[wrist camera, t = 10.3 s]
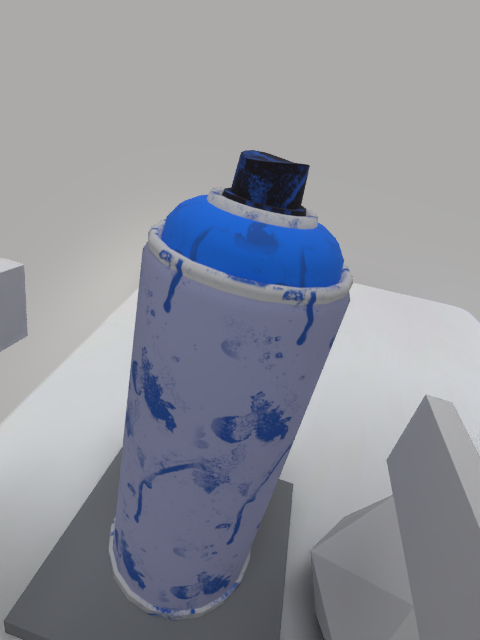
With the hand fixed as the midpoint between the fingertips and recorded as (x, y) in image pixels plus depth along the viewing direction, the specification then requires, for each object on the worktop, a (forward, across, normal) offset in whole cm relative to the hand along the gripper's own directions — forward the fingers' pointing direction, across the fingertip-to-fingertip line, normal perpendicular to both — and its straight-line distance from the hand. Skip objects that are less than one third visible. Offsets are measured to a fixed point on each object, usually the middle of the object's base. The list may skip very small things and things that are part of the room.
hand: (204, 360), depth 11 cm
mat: (+3, 0, -15) cm, 15 cm away
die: (+2, +11, -15) cm, 19 cm away
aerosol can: (+3, 0, -14) cm, 14 cm away
